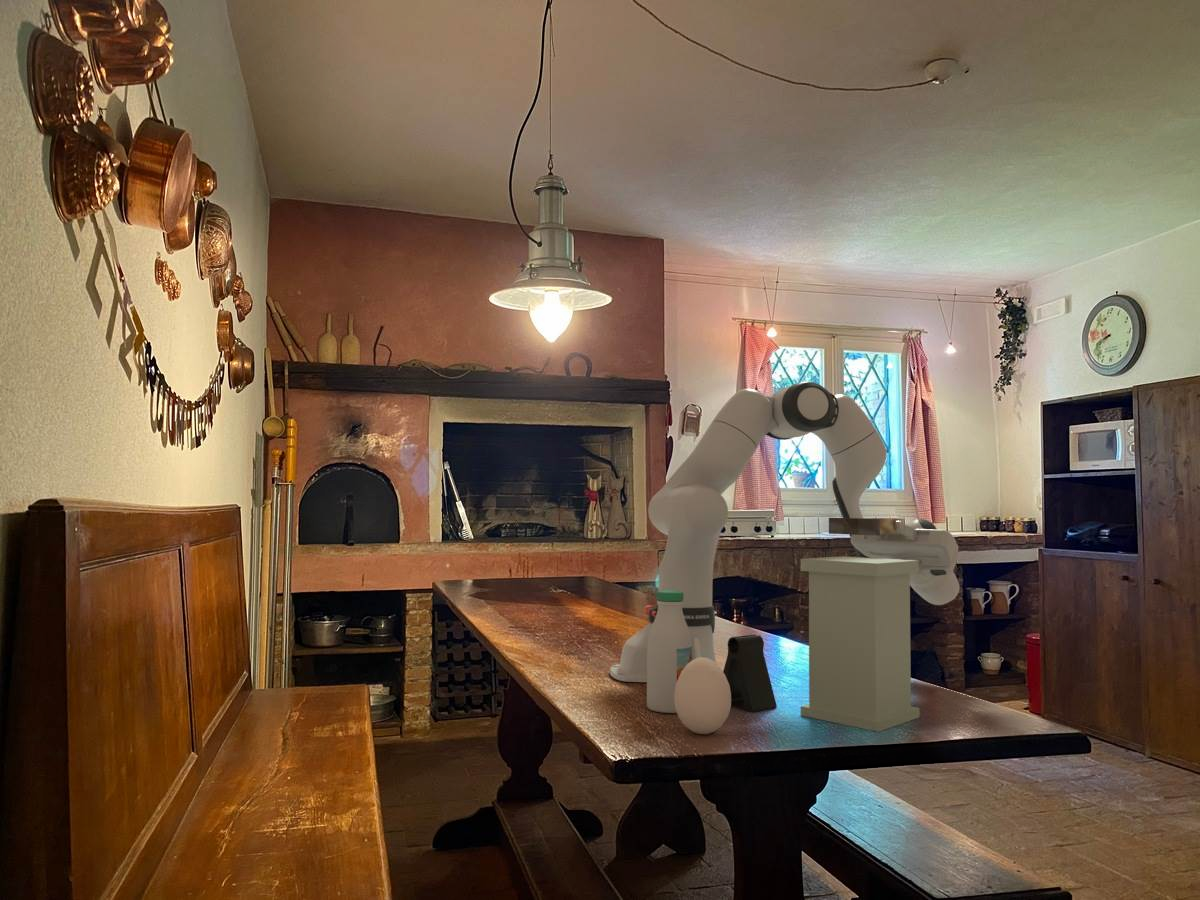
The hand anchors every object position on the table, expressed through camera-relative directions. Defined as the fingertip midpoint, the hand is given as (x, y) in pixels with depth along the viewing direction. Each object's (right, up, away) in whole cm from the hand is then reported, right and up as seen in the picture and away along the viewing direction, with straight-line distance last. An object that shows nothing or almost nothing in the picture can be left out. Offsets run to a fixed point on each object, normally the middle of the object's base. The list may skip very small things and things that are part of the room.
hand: (886, 523), depth 169 cm
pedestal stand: (-13, -30, -25) cm, 41 cm away
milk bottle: (-44, -30, -21) cm, 57 cm away
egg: (-40, -29, -37) cm, 62 cm away
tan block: (-3, -2, -3) cm, 5 cm away
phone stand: (-30, -30, -18) cm, 47 cm away
